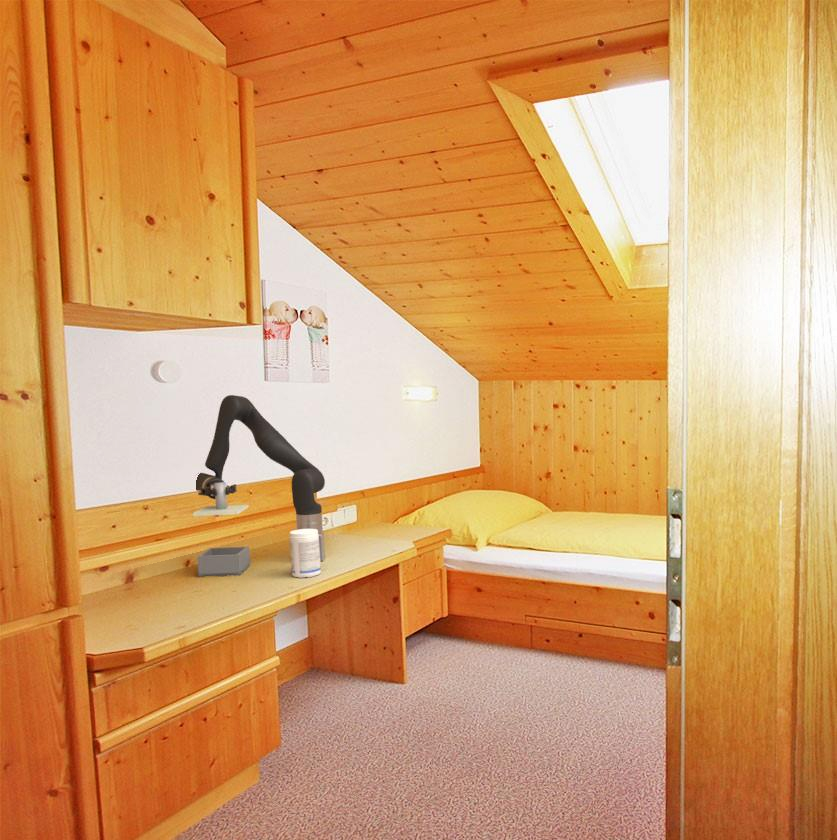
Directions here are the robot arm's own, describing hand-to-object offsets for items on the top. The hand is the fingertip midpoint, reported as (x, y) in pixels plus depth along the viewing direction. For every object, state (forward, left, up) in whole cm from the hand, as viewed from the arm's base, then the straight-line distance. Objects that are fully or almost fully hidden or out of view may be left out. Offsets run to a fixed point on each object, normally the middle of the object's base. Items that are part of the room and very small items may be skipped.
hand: (221, 492), depth 246 cm
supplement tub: (-29, +7, -28) cm, 41 cm away
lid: (+1, -3, -7) cm, 8 cm away
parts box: (+1, -3, -28) cm, 28 cm away
